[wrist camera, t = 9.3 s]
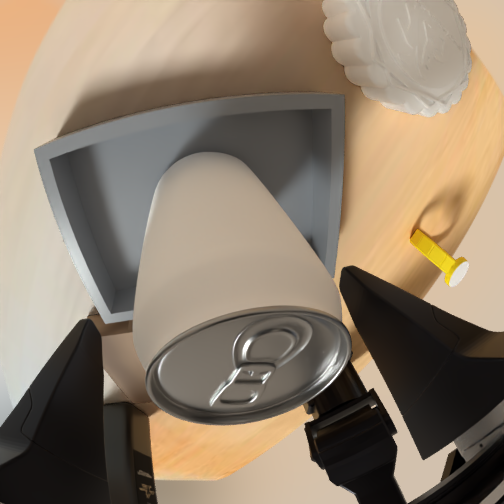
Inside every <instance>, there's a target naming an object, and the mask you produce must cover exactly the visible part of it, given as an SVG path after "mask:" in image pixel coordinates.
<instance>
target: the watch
mask: <svg viewBox="0 0 504 504" xmlns="http://www.w3.org/2000/svg"><path fill="white" fill-rule="evenodd" d="M410 242H411V244H412V245H413V246H415V247H416V248H417V249H418V250H419V251H420V252H421V253H422V254H423V255H424V256H426V257H427V258H428V259H429V260H430V261H431V262H433V263H434V264H435V265H436V266H437V267H439V268H440V269H441V270H442V271H443V272H445V273H446V275H445V282H446V283H447V285H448V286H450V287H454V286H456V285H457V284H458V283H459V282H460V281H461V280H462V279H463V277H464V276H465V274H466V272H467V269H468V267H469V263H468V261H467V260H466V259H465V258H464V257H460V258H458V259H456V260H455V259H454V258H453V257H451V256H450V255H449V254H448V253H447V252H446V251H444V250H443V249H442V248H441V247H439V245H437V244H436V243H435V242H434V241H432V240H431V239H430V238H429V237H427V236H426V235H425V234H424V233H422V232H421V231H420V230H419V229H417V230H416V231H415V233H414V234H413V236H412V237H411V239H410Z"/></svg>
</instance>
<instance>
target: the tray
mask: <svg viewBox="0 0 504 504" xmlns="http://www.w3.org/2000/svg"><path fill="white" fill-rule="evenodd" d="M344 138H345V95H342V94H334V93H326V92H277V93H259V94H246V95H236V96H226V97H218V98H211V99H203V100H197V101H191V102H185V103H179V104H174V105H169V106H164V107H159V108H154V109H150V110H145V111H141V112H137V113H133V114H129V115H125V116H122V117H118V118H114V119H111V120H107V121H104V122H101V123H97V124H94V125H91V126H88V127H85V128H82V129H79V130H76V131H73V132H71V133H68V134H65V135H62V136H60V137H57V138H55V139H53V140H51V141H49V142H47V143H45V144H43V145H41V146H39V147H38V148H36V149H34V153H35V157H36V160H37V164H38V168H39V171H40V175H41V178H42V181H43V185H44V188H45V191H46V194H47V197H48V200H49V203H50V206H51V209H52V211H53V214H54V217H55V220H56V222H57V225H58V227H59V230H60V232H61V235H62V237H63V240H64V242H65V245H66V247H67V249H68V252H69V254H70V256H71V258H72V261H73V263H74V265H75V267H76V269H77V271H78V273H79V276H80V278H81V280H82V282H83V284H84V286H85V288H86V290H87V292H88V293H89V295H90V297H91V299H92V301H93V303H94V305H95V307H96V308H97V310H98V312H99V314H100V316H101V317H102V319H103V321H104V323H105V324H108V323H115V322H121V321H127V320H133V312H134V302H135V294H136V286H137V279H138V272H139V265H140V259H141V253H142V248H143V242H144V237H145V232H146V227H147V222H148V217H149V213H150V208H151V204H152V200H153V196H154V193H155V189H156V187H157V185H158V182H159V181H160V179H161V177H162V176H163V174H164V173H165V172H166V171H167V170H168V169H169V168H170V167H171V166H172V165H173V164H174V163H176V162H177V161H179V160H180V159H182V158H184V157H186V156H189V155H191V154H195V153H199V152H219V153H224V154H228V155H231V156H234V157H236V158H238V159H239V160H241V161H242V162H244V163H245V164H246V165H247V166H248V167H249V168H250V169H251V170H252V171H253V173H254V174H255V175H256V176H257V177H258V179H259V180H260V181H261V182H262V184H263V185H264V186H265V187H266V188H267V190H268V191H269V192H270V194H271V195H272V196H273V197H274V199H275V200H276V201H277V202H278V204H279V205H280V206H281V208H282V209H283V210H284V212H285V213H286V214H287V215H288V217H289V218H290V219H291V221H292V222H293V223H294V225H295V226H296V227H297V229H298V230H299V231H300V233H301V234H302V235H303V237H304V238H305V240H306V241H307V242H308V244H309V245H310V246H311V248H312V249H313V251H314V252H315V253H316V255H317V256H318V258H319V259H320V260H321V262H322V263H323V265H324V266H325V268H326V269H327V271H328V272H329V274H330V276H331V277H332V278H334V274H335V266H336V257H337V248H338V239H339V228H340V217H341V204H342V189H343V170H344Z"/></svg>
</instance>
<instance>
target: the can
mask: <svg viewBox="0 0 504 504" xmlns="http://www.w3.org/2000/svg"><path fill="white" fill-rule="evenodd" d="M133 342H134V347H135V350H136V353H137V355H138V358H139V360H140V362H141V364H142V366H143V368H144V369H145V371H146V377H145V385H146V390H147V392H148V395H149V396H150V398H151V400H152V401H153V402H154V403H155V404H156V405H157V406H158V407H159V408H160V409H162V410H163V411H165V412H166V413H168V414H170V415H172V416H174V417H176V418H179V419H182V420H185V421H188V422H193V423H198V424H205V425H237V424H245V423H251V422H256V421H261V420H265V419H268V418H272V417H275V416H278V415H280V414H283V413H286V412H288V411H290V410H293V409H295V408H297V407H299V406H301V405H303V404H304V403H306V402H308V401H310V400H311V399H313V398H314V397H316V396H317V395H319V394H320V393H321V392H323V391H324V390H325V389H326V388H327V387H328V386H330V385H331V384H332V383H333V382H334V381H335V380H336V378H337V377H338V376H339V375H340V374H341V372H342V371H343V369H344V368H345V366H346V364H347V362H348V360H349V357H350V354H351V349H352V341H351V336H350V334H349V331H348V329H347V328H346V326H345V325H344V324H343V323H342V307H341V299H340V295H339V292H338V289H337V287H336V285H335V283H334V281H333V279H332V277H331V276H330V274H329V272H328V271H327V269H326V268H325V266H324V265H323V263H322V262H321V260H320V259H319V258H318V256H317V255H316V253H315V252H314V251H313V249H312V248H311V246H310V245H309V244H308V242H307V241H306V240H305V238H304V237H303V235H302V234H301V233H300V231H299V230H298V229H297V227H296V226H295V225H294V223H293V222H292V221H291V219H290V218H289V217H288V215H287V214H286V213H285V212H284V210H283V209H282V208H281V206H280V205H279V204H278V202H277V201H276V200H275V199H274V197H273V196H272V195H271V194H270V192H269V191H268V190H267V188H266V187H265V186H264V185H263V184H262V182H261V181H260V180H259V179H258V177H257V176H256V175H255V174H254V173H253V171H252V170H251V169H250V168H249V167H248V166H247V165H246V164H245V163H244V162H242V161H241V160H239V159H238V158H236V157H234V156H231V155H228V154H224V153H219V152H199V153H195V154H191V155H189V156H186V157H184V158H182V159H180V160H179V161H177V162H176V163H174V164H173V165H172V166H171V167H170V168H169V169H168V170H167V171H166V172H165V173H164V174H163V176H162V177H161V179H160V181H159V182H158V185H157V187H156V189H155V193H154V196H153V200H152V204H151V208H150V213H149V217H148V222H147V227H146V232H145V237H144V242H143V248H142V253H141V259H140V265H139V272H138V279H137V286H136V294H135V302H134V312H133Z"/></svg>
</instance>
